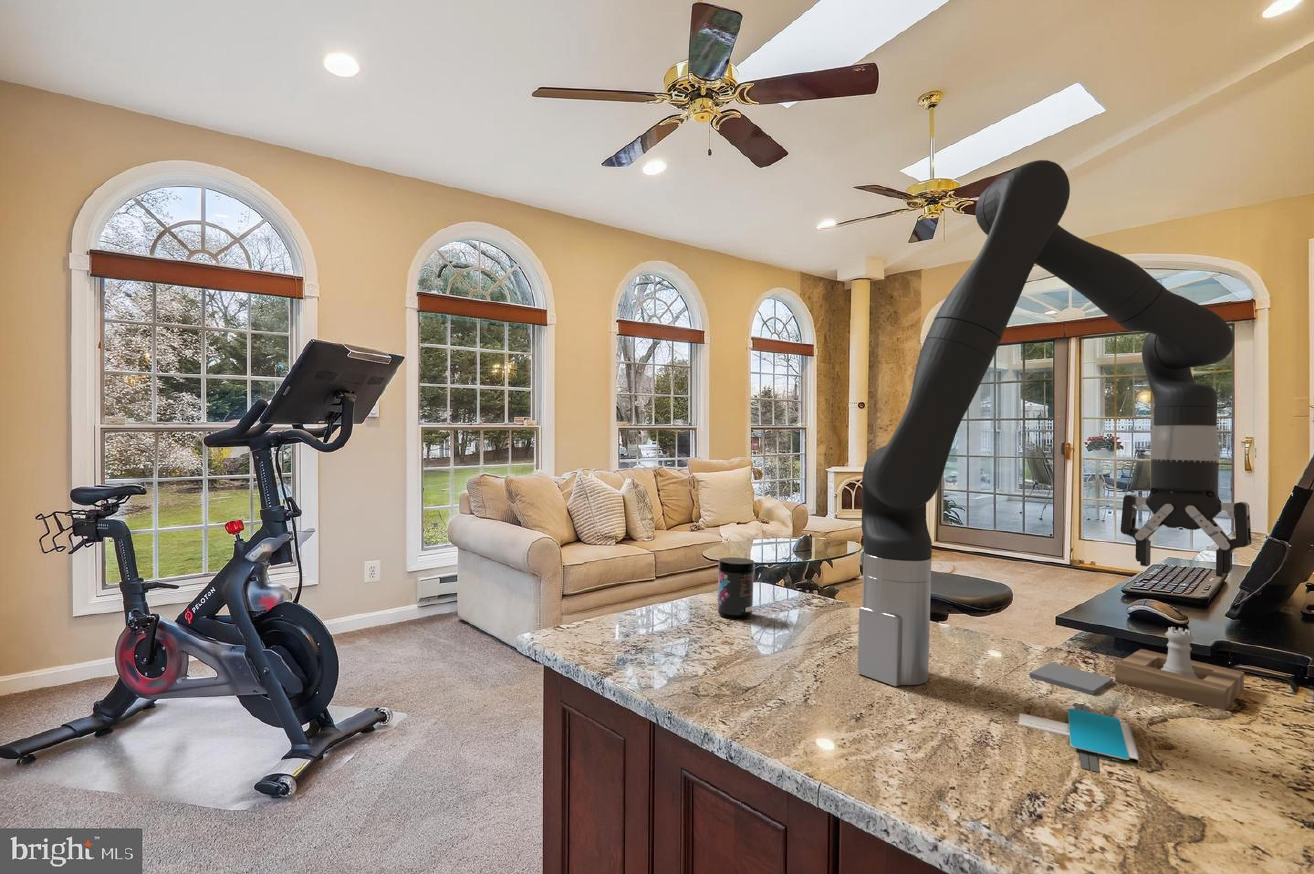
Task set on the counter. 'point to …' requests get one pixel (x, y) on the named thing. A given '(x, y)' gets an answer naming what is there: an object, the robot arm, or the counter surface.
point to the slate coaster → (1071, 678)
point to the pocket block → (1181, 679)
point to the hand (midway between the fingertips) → (1181, 570)
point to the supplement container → (735, 588)
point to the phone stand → (1090, 735)
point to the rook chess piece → (1179, 652)
